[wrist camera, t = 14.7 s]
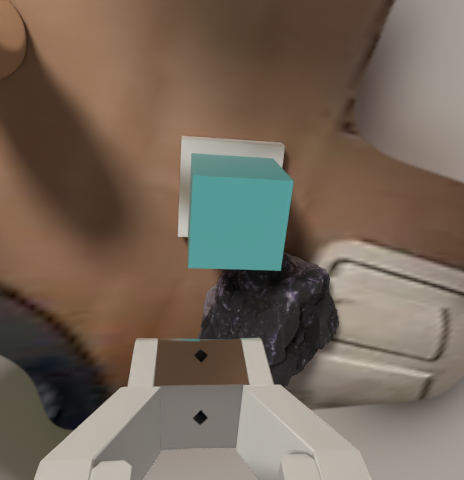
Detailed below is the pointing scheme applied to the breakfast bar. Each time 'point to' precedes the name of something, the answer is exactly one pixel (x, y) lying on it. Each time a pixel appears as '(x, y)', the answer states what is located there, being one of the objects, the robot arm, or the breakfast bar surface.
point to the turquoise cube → (237, 212)
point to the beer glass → (11, 39)
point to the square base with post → (217, 148)
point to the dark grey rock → (274, 312)
